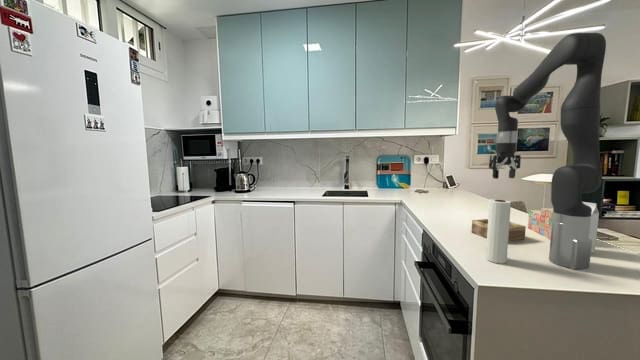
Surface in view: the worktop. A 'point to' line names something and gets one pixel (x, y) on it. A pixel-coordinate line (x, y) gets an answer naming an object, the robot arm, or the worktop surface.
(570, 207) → the robot arm
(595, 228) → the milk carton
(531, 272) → the worktop surface
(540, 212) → the stack of blocks
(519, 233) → the wooden tray
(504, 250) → the paper towel roll
